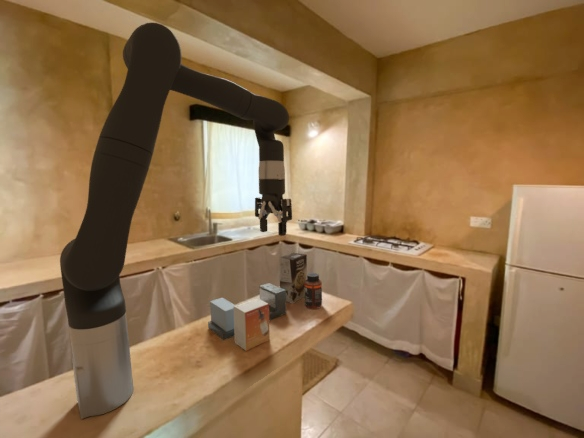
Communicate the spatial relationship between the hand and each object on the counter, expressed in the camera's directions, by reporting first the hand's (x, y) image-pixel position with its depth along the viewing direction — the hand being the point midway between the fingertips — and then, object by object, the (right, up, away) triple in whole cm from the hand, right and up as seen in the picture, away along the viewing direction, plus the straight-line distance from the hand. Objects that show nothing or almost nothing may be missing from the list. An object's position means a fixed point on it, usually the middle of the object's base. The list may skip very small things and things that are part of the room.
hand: (272, 233), depth 82 cm
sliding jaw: (-14, -26, 0) cm, 30 cm away
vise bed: (-9, -28, +5) cm, 29 cm away
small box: (-5, -29, -6) cm, 30 cm away
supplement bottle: (+13, -26, +15) cm, 33 cm away
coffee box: (+6, -25, +23) cm, 35 cm away
